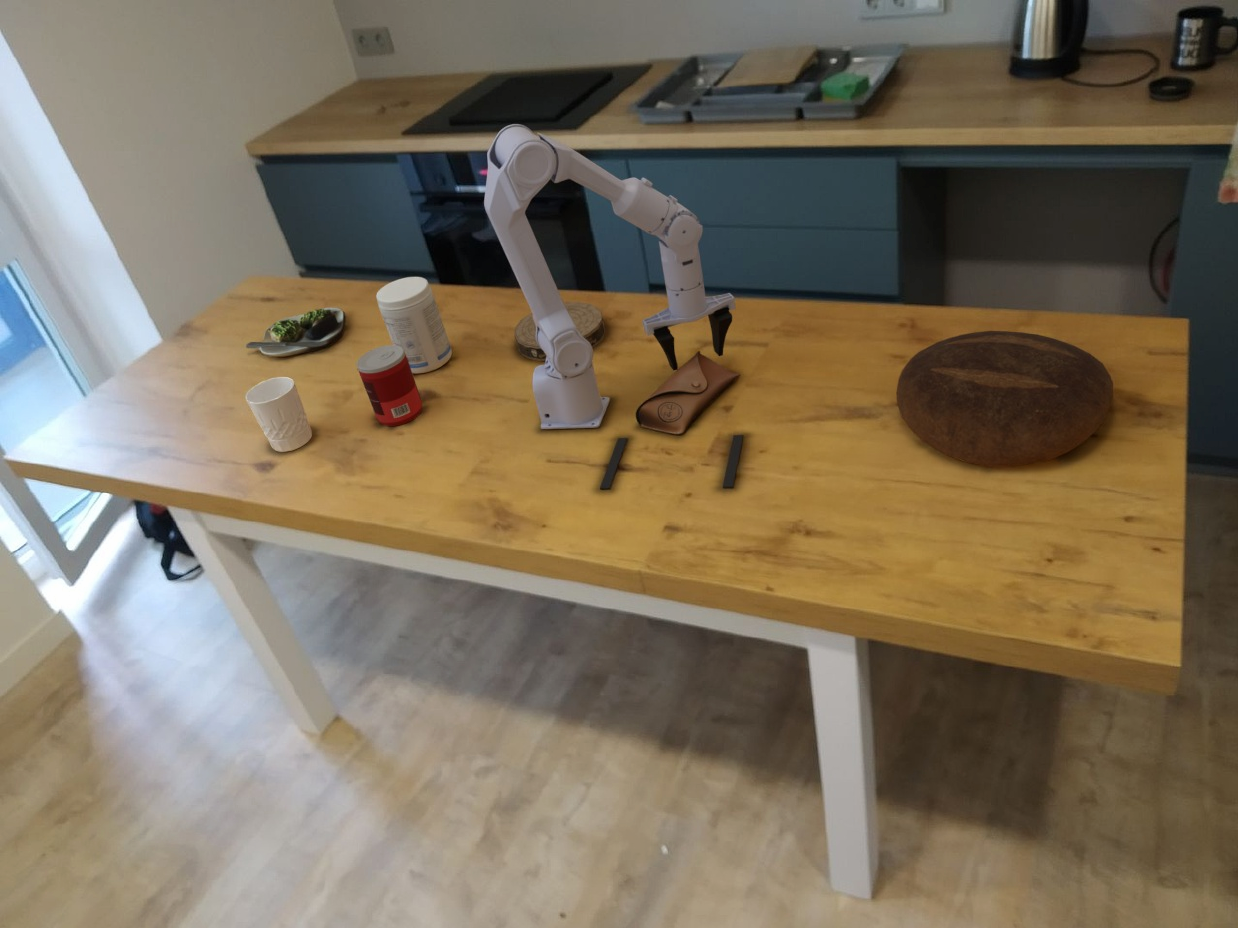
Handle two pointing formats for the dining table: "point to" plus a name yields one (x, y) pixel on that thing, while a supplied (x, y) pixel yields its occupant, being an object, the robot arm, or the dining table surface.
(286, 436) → the white cup
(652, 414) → the sunglasses case
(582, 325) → the tan round flat disc
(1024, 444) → the bread
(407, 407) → the canned food
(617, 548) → the dining table surface
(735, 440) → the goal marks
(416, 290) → the supplement tub
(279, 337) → the salad plate
